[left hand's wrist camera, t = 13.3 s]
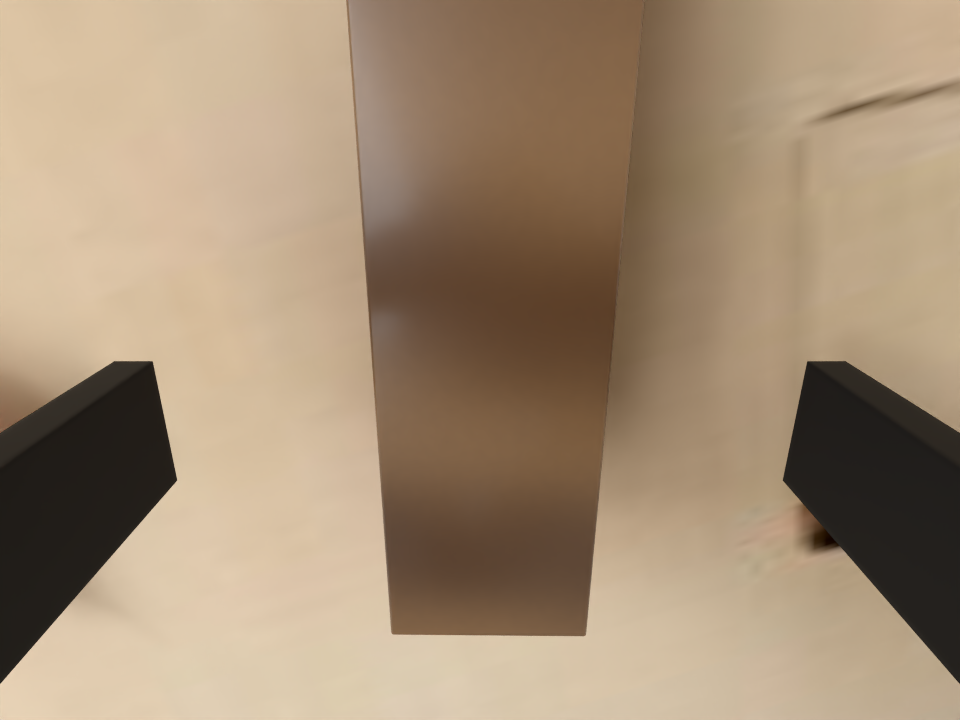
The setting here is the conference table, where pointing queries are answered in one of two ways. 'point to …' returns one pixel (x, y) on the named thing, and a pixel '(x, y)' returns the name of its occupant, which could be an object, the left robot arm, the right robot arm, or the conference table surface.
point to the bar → (492, 295)
